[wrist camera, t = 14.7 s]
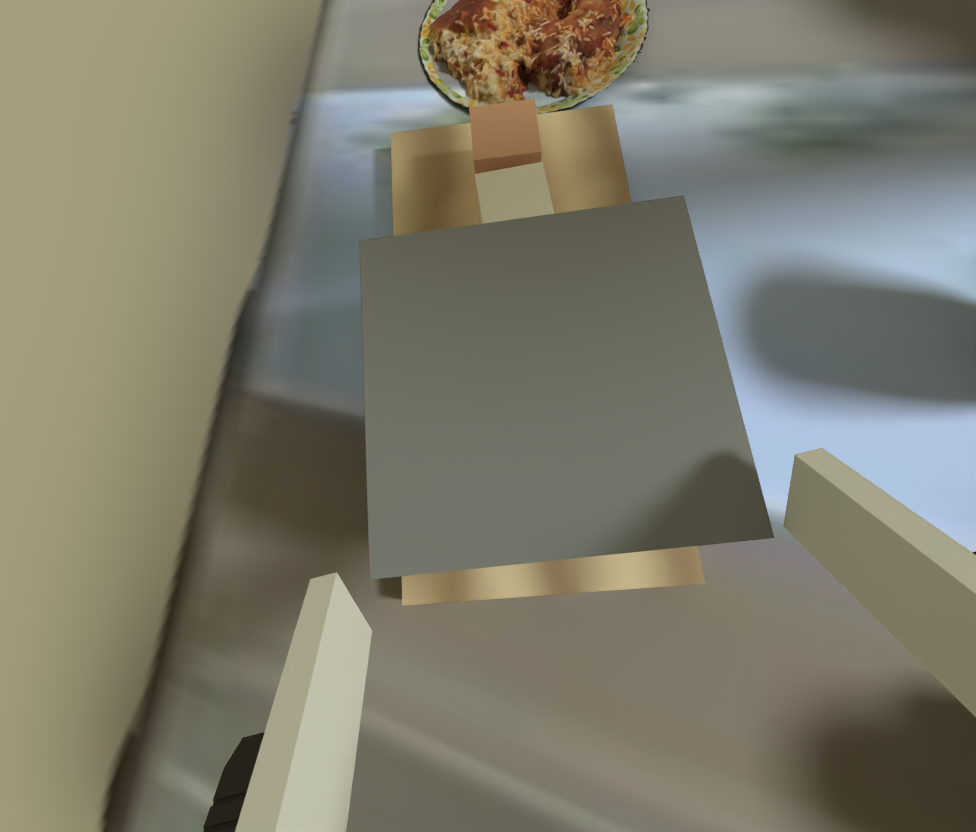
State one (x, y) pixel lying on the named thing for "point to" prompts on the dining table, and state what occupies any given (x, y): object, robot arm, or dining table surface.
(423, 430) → the grey matte cube
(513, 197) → the white block
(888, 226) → the dining table surface
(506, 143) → the terracotta block
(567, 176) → the board
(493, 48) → the food
